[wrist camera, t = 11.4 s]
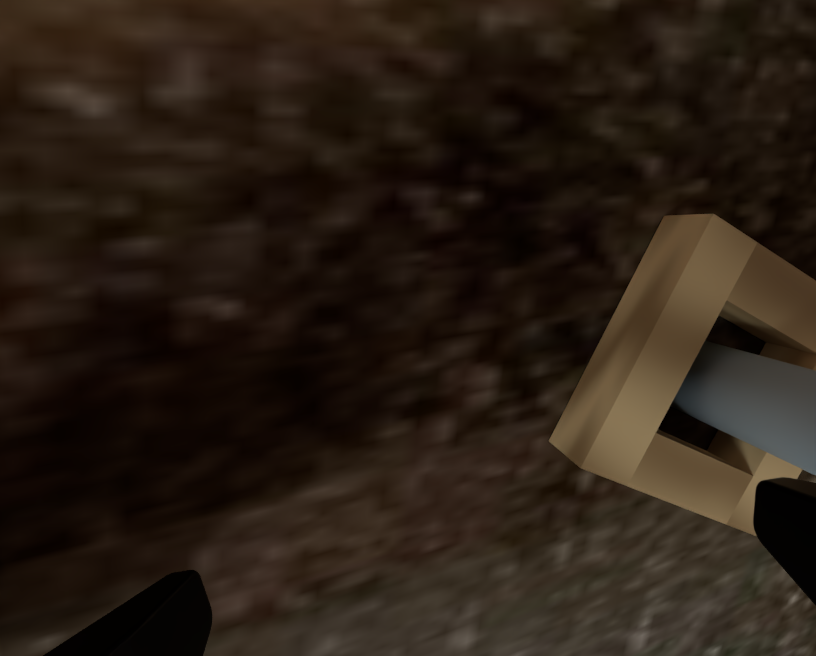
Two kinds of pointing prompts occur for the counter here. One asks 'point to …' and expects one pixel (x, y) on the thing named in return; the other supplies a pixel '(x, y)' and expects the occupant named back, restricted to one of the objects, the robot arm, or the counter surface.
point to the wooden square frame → (686, 366)
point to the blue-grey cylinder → (754, 401)
